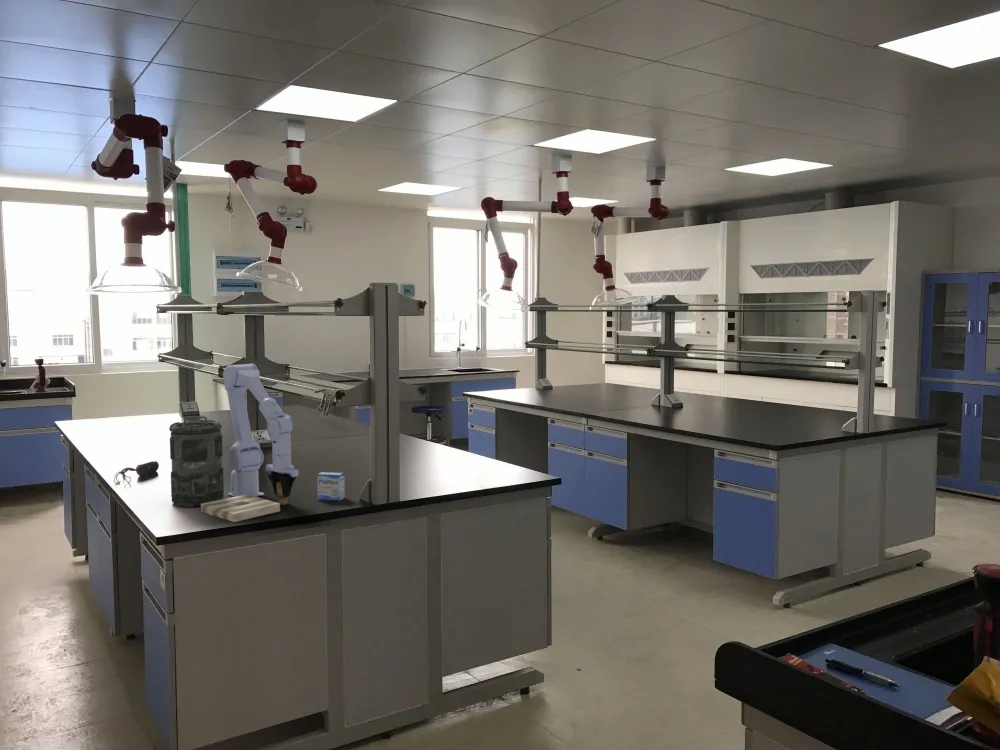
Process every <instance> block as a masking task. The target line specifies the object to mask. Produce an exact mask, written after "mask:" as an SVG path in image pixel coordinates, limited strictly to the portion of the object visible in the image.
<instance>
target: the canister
mask: <svg viewBox="0 0 1000 750" xmlns="http://www.w3.org/2000/svg"><path fill="white" fill-rule="evenodd" d="M186 419H198V421H197V420H196V421H195V420H194V421H193V420H192V421H187V420H186ZM222 427H223V425H222V423H221V422H219V421H218V422H217V421H215V420H213V419H212V420H208V417H206V416H205V415H204V416H203V415H202V416H201V415H200V416H199V415H198V416H197V415H196V416H194V415H192V416H191V415H187V416H184V418H183V421H182V422H179V421H176V422H174V423H172V424H170V425H169V428H168V429H169V432H170V437H169V457H170V458H169V459H170V460H171V471H170V491H171V492H170V493H171V495H170V496H171V502H172V504H174V505H177V506H178V507H181V508H195V507H198V506H199V507H201V504H203V503H207V502H212V501H217V500H221V499H225V495H224V492H225V491H224V488H225V487H224V467H222V465H223V463H222V461H223V460H222V457H223V435H222V432H221V429H223V428H222Z"/></svg>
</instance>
